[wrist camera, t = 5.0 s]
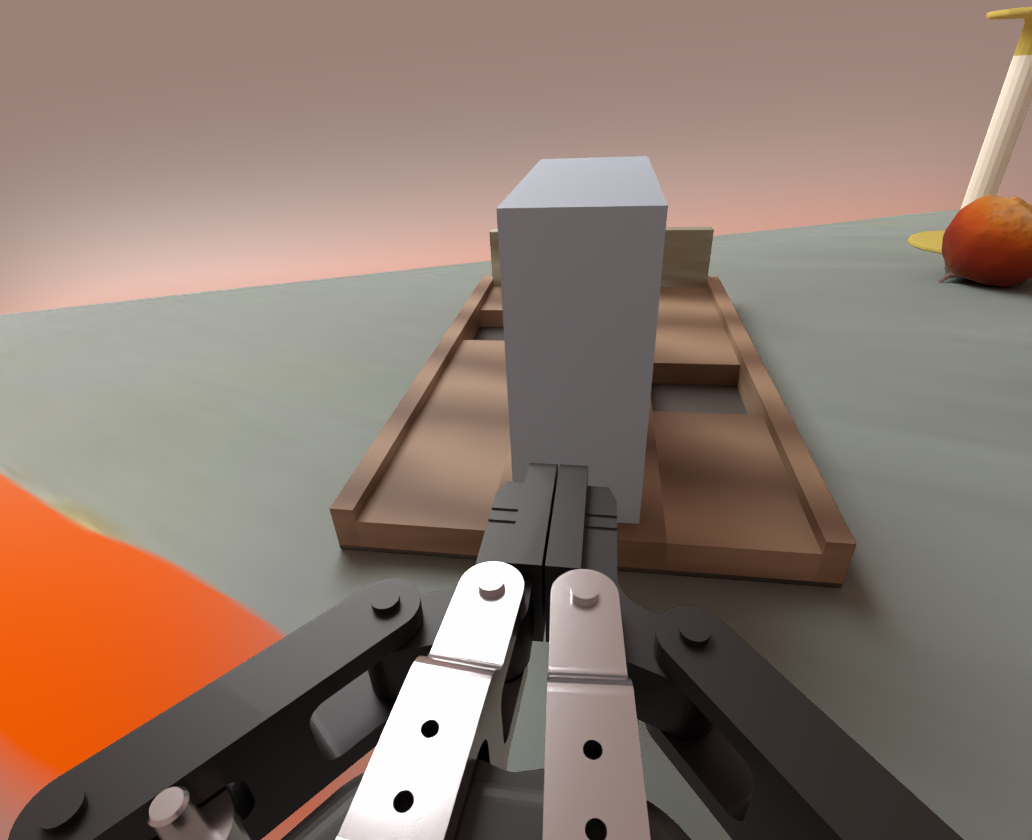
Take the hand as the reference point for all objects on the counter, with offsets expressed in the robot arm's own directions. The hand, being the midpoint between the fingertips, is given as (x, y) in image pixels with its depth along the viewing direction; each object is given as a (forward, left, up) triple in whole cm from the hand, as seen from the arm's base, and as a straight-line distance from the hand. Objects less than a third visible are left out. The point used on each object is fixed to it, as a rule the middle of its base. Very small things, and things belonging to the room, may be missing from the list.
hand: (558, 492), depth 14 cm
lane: (-16, -14, -8) cm, 23 cm away
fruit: (-55, -3, -8) cm, 56 cm away
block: (-9, -8, -6) cm, 14 cm away
